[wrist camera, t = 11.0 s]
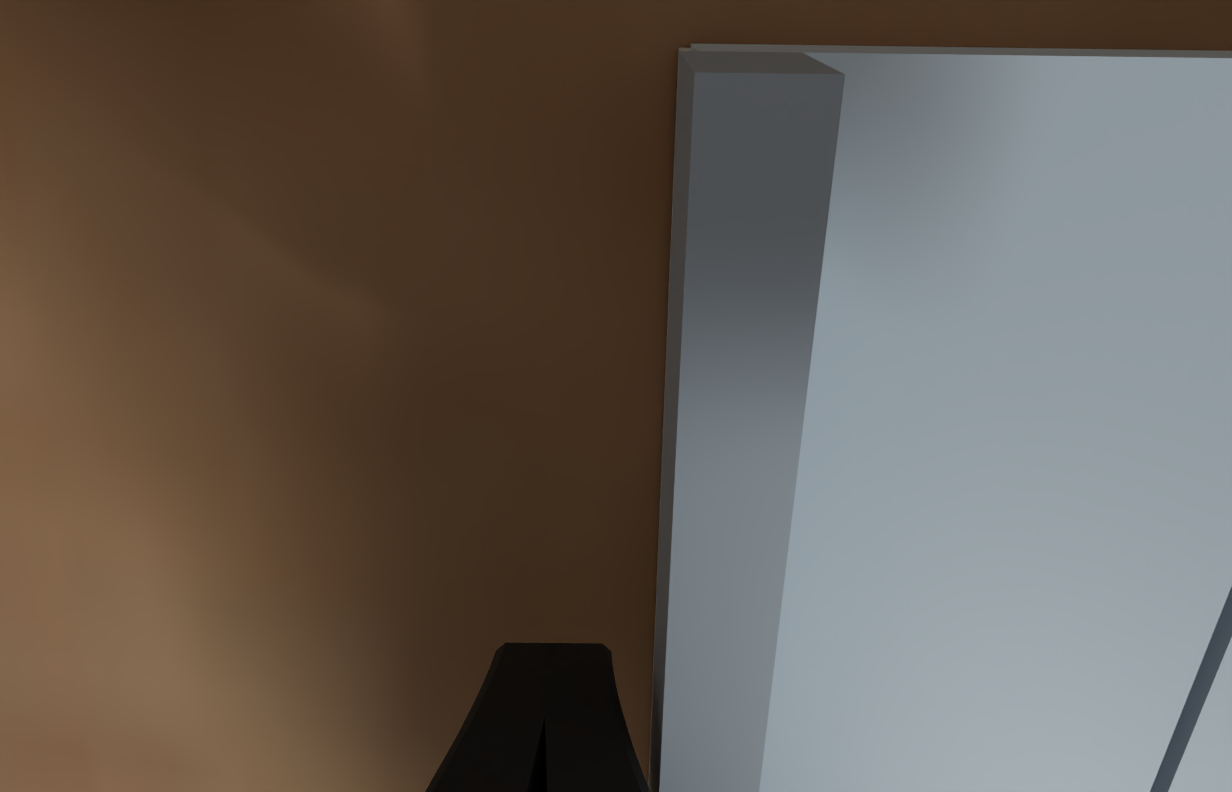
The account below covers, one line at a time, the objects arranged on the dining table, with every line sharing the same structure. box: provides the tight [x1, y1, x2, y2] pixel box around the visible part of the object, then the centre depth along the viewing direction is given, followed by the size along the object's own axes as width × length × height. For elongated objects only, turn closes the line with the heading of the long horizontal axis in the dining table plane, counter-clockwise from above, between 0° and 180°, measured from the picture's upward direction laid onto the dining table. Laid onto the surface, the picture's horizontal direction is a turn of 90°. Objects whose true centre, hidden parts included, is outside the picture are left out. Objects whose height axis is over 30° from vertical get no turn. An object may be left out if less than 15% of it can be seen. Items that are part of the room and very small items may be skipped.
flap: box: [649, 44, 1232, 792], centre depth 10 cm, size 15×6×2 cm, turn 179°
